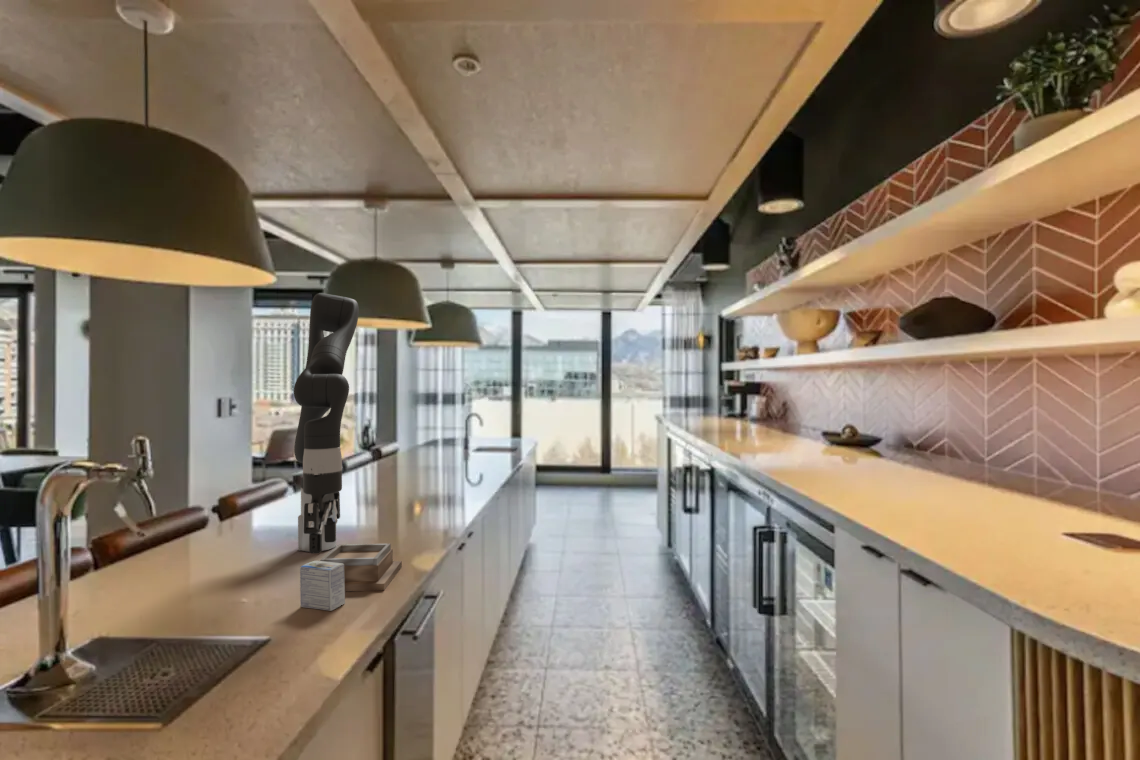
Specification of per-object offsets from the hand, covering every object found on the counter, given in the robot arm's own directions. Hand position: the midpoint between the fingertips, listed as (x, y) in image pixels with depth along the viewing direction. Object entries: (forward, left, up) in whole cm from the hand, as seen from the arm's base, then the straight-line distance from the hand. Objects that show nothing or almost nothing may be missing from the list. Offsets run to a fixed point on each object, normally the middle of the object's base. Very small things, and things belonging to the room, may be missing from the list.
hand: (323, 547), depth 124 cm
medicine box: (0, 0, -13) cm, 13 cm away
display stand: (+2, +17, -12) cm, 21 cm away
